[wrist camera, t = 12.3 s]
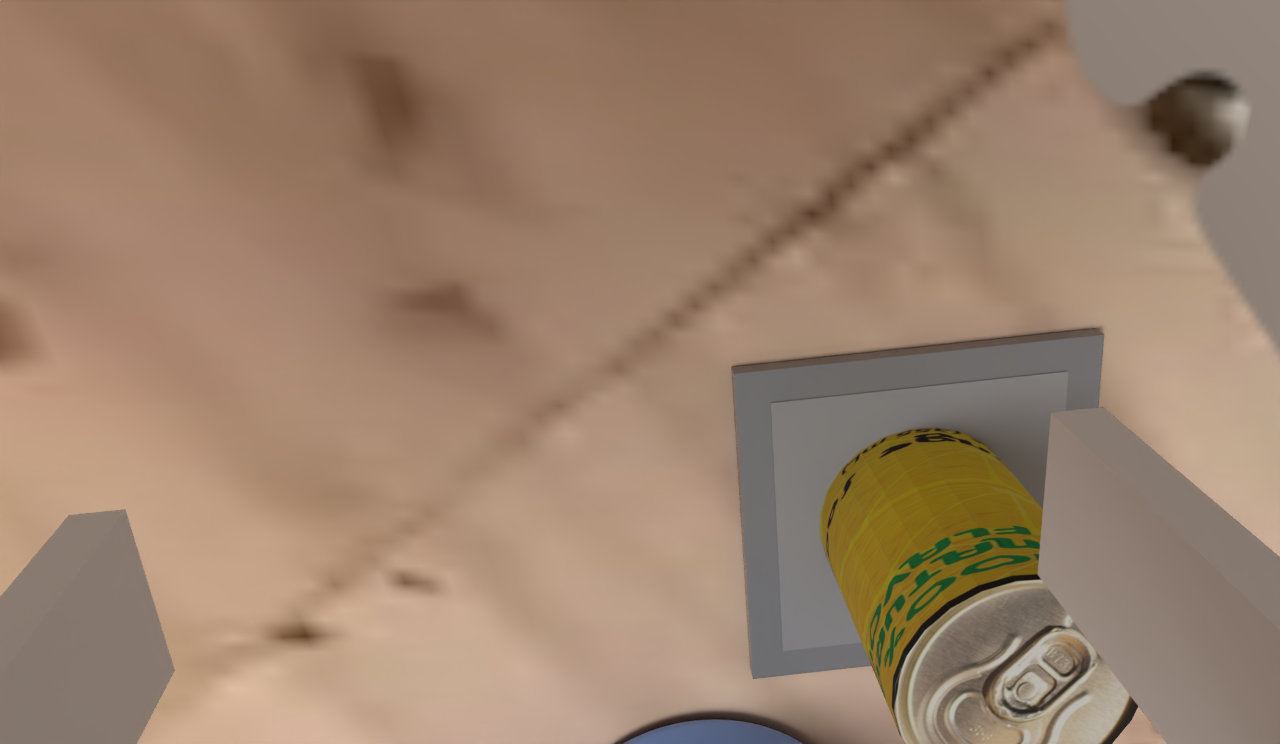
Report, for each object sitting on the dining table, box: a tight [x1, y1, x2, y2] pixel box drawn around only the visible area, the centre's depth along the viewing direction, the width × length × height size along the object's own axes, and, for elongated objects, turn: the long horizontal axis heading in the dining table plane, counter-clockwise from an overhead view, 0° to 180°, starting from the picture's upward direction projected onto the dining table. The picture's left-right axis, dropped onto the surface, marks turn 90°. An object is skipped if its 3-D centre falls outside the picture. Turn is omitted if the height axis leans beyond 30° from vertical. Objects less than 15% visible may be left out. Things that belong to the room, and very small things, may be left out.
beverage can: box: [820, 428, 1138, 744], centre depth 42 cm, size 9×9×12 cm
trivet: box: [731, 329, 1104, 679], centre depth 48 cm, size 16×16×1 cm
